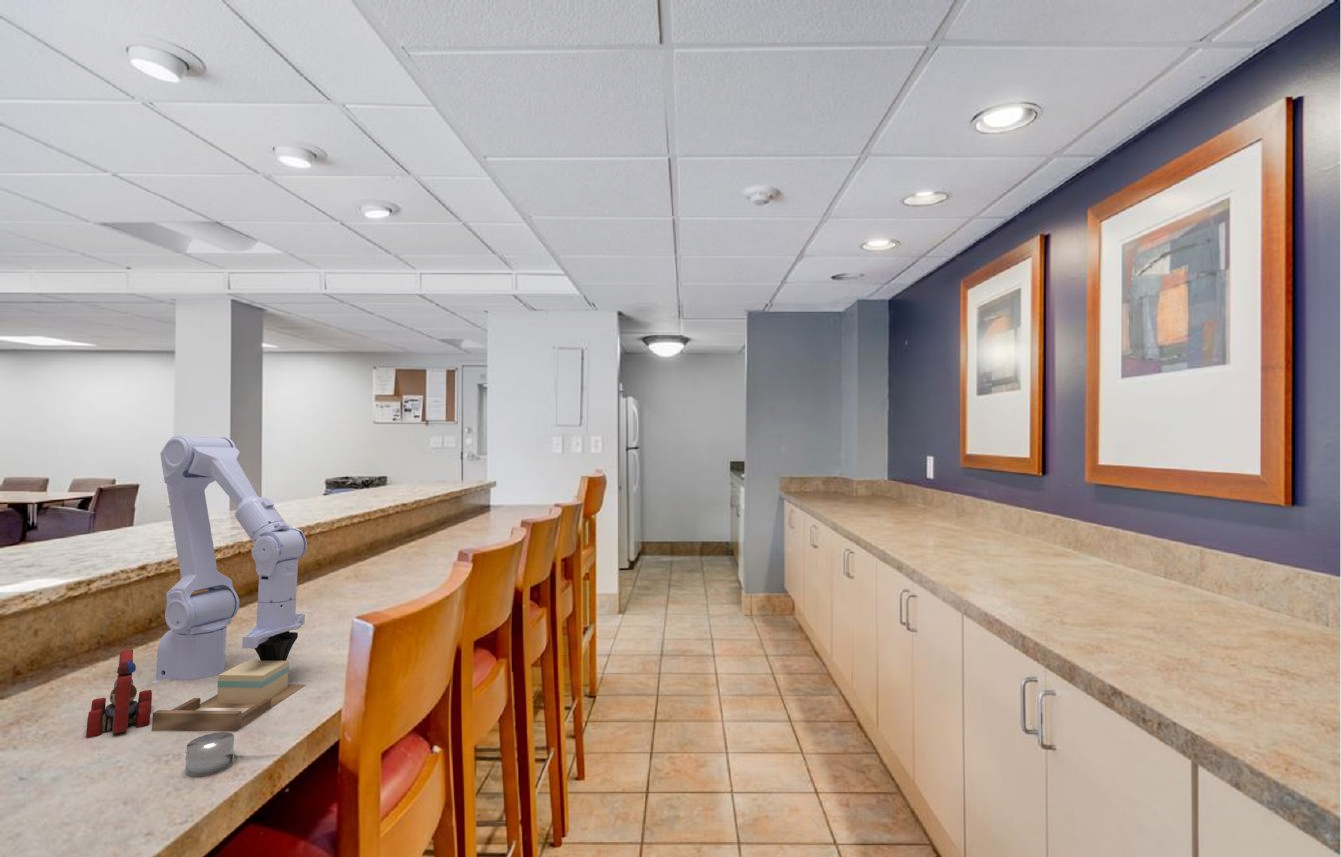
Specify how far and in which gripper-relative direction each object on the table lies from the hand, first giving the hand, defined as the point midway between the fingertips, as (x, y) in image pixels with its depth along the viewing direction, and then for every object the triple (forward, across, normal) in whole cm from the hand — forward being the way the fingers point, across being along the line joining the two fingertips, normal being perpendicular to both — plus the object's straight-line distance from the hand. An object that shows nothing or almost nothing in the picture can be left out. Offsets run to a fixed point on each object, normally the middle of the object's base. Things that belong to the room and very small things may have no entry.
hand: (273, 677), depth 106 cm
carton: (+1, -5, 0) cm, 5 cm away
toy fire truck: (+2, -15, +13) cm, 20 cm away
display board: (+2, -9, 0) cm, 10 cm away
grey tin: (+2, -26, -8) cm, 28 cm away
